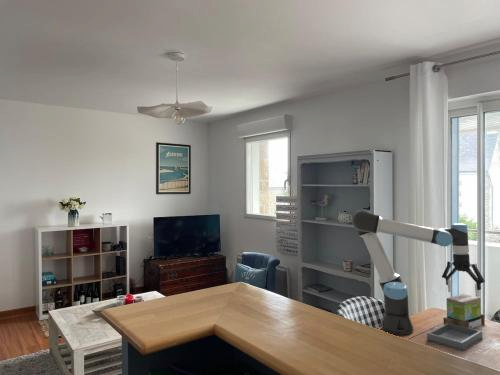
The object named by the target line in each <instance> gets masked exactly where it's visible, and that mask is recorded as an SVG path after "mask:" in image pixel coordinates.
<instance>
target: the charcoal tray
mask: <svg viewBox="0 0 500 375" xmlns="http://www.w3.org/2000/svg"><path fill="white" fill-rule="evenodd" d="M482 339H483V331H482V330H479V329H475V328H467V327H463V326H459V325H455V324H451V323H446V324H444V323H443V325H441V326H438V327H437V328H435V329H432V330H431V331H429V332H426V341H428V342H431V343H435V344H438V345H440V346H445V347H448V348H451V349H456V350H458V351H461V352H464V351H465V350H466V349H468V348H470V347H471V346H473V345H474V344H476V343H478V342H479V341H481V340H482Z"/></svg>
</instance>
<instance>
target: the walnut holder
mask: <svg viewBox="0 0 500 375" xmlns="http://www.w3.org/2000/svg"><path fill="white" fill-rule="evenodd" d="M442 319H443V325H444V324H446V323H451V324H455V325H459V326H463V327H467V328H469V323H468V322H463V321H459V320H455V319H450V318H447V316H444V317H442ZM485 324H486V322H485V314H483V313H481V325H485Z"/></svg>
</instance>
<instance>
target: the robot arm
mask: <svg viewBox="0 0 500 375" xmlns="http://www.w3.org/2000/svg"><path fill="white" fill-rule="evenodd" d="M351 222H352V226H353V228H355V230H356V232H357V234H358V236H359V237H360V238H362V239H363V241H364V244H365V246H366V248H367V250H368V254H369V255H370V258H371V260H372V262H373V265H374V267H375V269H376V271H377V274H378V277H379V280H378V284H379V286H380V287H381V290H382V294H383V302H384V315H383V319H382V322H381V330H382V331H383V330H384V331H383V332H385V331H386V332H385V333H387V332H389V333H388V334H390V333H391V334H390V335H394V336H408V335H412V334H413V333H414V325H413V323H412V321H411V317H410V313H409V312H410V310H409V289H408V286H407V285H406V284H405V283H403V281H402V278H401V276H400V274H399V273H396V271H395V270H394V266H393V265H392V262H391V260H390V257H389V256H388V254H387V251H386V249H385V247H384V244H383V242H382V239H381V236H380V235H379V233H382V234H387V235H391V236H396V237H401V238H406V239H410V240H415V241H419V242H420V241H421V242H425V243H430V244H434V245H439V246H440V247H448V246H451V245H452V247H451V248H452V260H453V261H451V260H449V261H447V262H446V266H445V268H444V271H443V273H442V275H441V278H442V279H445V285H446V286H447V292H448V293H451V292H453V288H452V287H453V285H452V279H451V278H452V276H453V275H454V274H455V273H456V272H457V271H458V272H464V273H465V272H466V273H467V274H468V275H469V276H470V278H471V279H472V280H473V281H474V282H475V283H474V288H475V289H474V291H475V297H478V298H479V297H480V296H481V295H480V291H481V290H482V284H483V283H486V281H485V279H484V278H483V276H482V273H481V272H480V270H479V268H478V264H477V263H475V262H474V263H470V254H469V253H470V250H469V249H470V248H469V232H468V231H469V230H468V226H467V224H465V223H452V224H451V225H450V227H429V226H428V227H427V226H422V225H417V224H412V223H407V222H402V221H398V220H393V219H388V218H383V217H382V216H381V215H378V214H374V213H373V212H372V211H370V210H369V209H366V208H362V209H358V210H357V211H355V212H354V213H353V215H352V217H351ZM452 266H453V268H452V270H451V267H452ZM450 270H451V271H450ZM395 334H396V335H395Z"/></svg>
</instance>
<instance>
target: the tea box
mask: <svg viewBox="0 0 500 375" xmlns="http://www.w3.org/2000/svg"><path fill="white" fill-rule="evenodd" d="M481 304H482V303H481V297H479V296H478V297H476V296H473V295H468V294H465V293H461V294H458V295H453V296H451V297H447V298H446V318H450V319H455V320H459V321H463V322H468V323H469V328H471V329H475V328H478V327H481V326H482V324H481V314H482V306H481Z"/></svg>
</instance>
